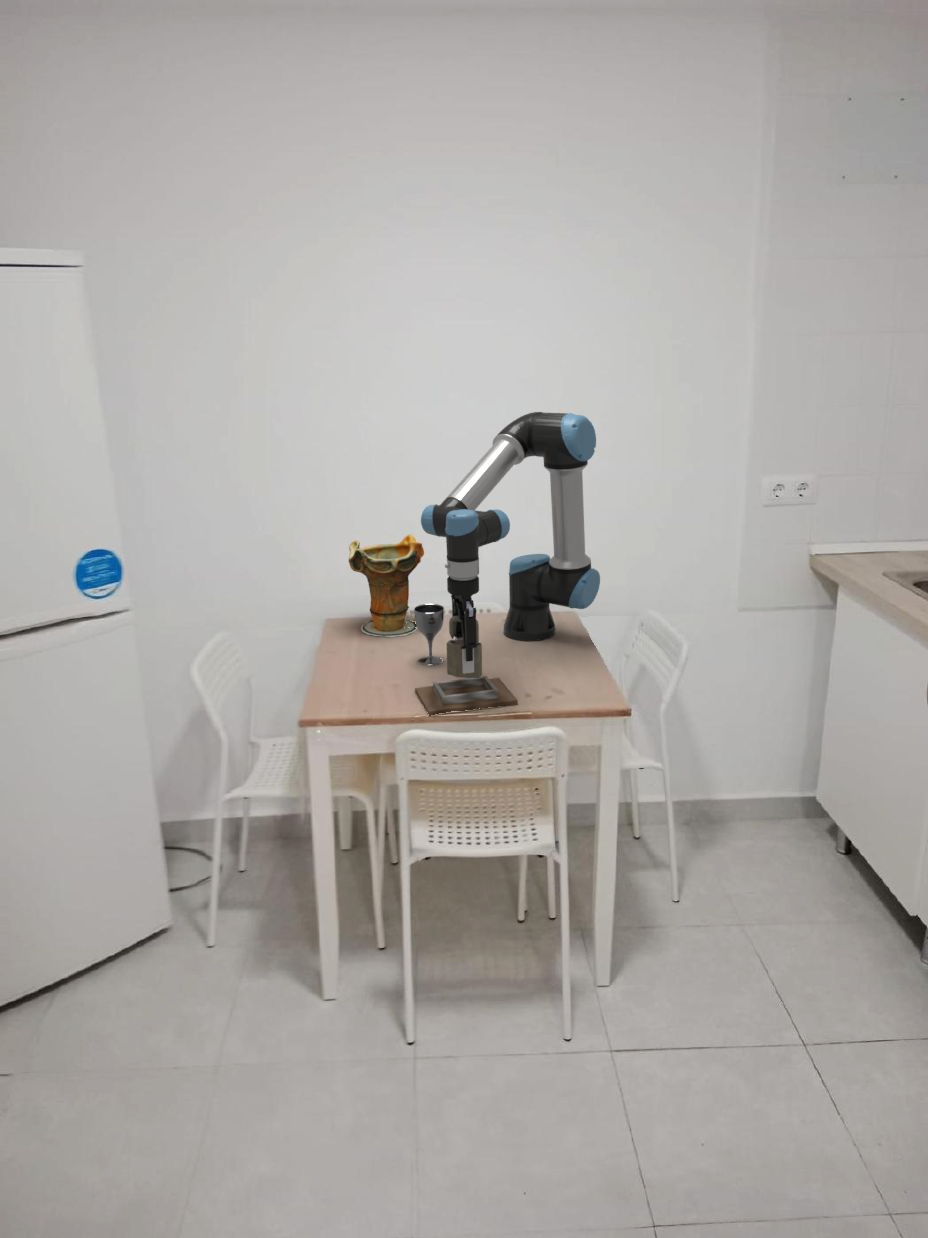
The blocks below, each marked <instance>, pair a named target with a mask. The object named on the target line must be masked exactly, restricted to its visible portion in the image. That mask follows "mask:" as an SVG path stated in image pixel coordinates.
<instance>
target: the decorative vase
mask: <svg viewBox="0 0 928 1238" xmlns="http://www.w3.org/2000/svg"><path fill="white" fill-rule="evenodd" d="M360 544H361V543H360V541H359V540H353V541H351V542H350V544H349V546H348V550H349V557H348V563H349V566H350V569H351V570H352V571H354V572H356V573H360V574H362V575H364V576H365V577H366V579H367V583H368V588H369V594H370V595H369V596H370V607H369V613H370V615H371V618H372V619H371V620H368V621H364V622H363V623H364V624H361V627H360V630H361V632H362V633H364V634H365V635H372V636H374V637H382V638H384V637H387V638H396V637H403V636H407V635H410V634H413V633H416V632H417V630H418V629H416V628H415V627H417V625H416V624H415V622H412V621H413V620H412V621H410V620H411V619H408V620H405V619H406V617H407V611H408V610H409V609H410V607H409V599H410V598H409V597H410V596H409V595H410V593H409V592H410V590H409V589H410V588H409V587H410V585H409V583H410V582H409V576H410V574H411V573H412V572H413V571H414V570H415V569H416V568H417V566H418V565H419V564H420V563H421V561H422V560H421V559H422V558H423V556H424V555H425V550H424V547H423V544H422V543H421V542H418V541H417V540H416V539H415V536H414V535H412V534H407V535H406V536H404V537H403V539H402V541H400V542H398V543H385V544H384V543H382V544H374V545H368V546H364V547H361V546H360ZM409 612H410V614H411V616H412V611H411V610H409ZM406 622H407V623H406ZM404 627H405V628H404ZM408 627H410V628H408Z"/></svg>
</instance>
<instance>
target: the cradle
mask: <svg viewBox="0 0 928 1238" xmlns="http://www.w3.org/2000/svg"><path fill="white" fill-rule="evenodd" d="M414 692H415V695H416V696H417V698H418V700H419V701H421V702H420V703H421V705H422V704H423V705H422V707H423V706H424V707H423V708H424V710H425V709H426V710H425V711H427V712H428V713H427V712H426V713H427V715H428V714H429V715H428V717H432V716H431V715H435V714H439V713H446V712H451V711H465V710H473V709H479V708H480V710H483V709H482V708H488V707H495V708H499V707H498V706H503V707H509V706H510V705H511V706H516V705H517V706H518V701H519V700H518V699H517V697H516V696H515V695H514V693H513V692H512V691H511V690H510V689H509V688H508V687H507V685H506V684H505V682H503V680H502V679H500V677H493V678H489V676H488V675H483V676H482V675H481V676H480V678H459V679H450V680H449V679H448V680H442V681H434V682H432V685H430V686H421V687H415V688H414ZM507 705H509V706H507ZM488 709H489V708H488ZM473 711H474V710H473ZM465 712H466V711H465ZM435 716H436V715H435Z"/></svg>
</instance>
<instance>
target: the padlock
mask: <svg viewBox="0 0 928 1238" xmlns="http://www.w3.org/2000/svg"><path fill="white" fill-rule="evenodd" d="M462 617H463V616H462ZM455 622H461V620H459V616H453V617H452V616H451V617H450V618H449V622H448V626H449V627H448V631H449V636H450V638H451V639H449V640H448V641H447V642H446V668H447V669H446V671H447V674H446V675H448V676H452V677H456V678H462V679H465V678H480V677H481V676H482V675H483V651H482V650H483V648H482V645H483V644H482V642H480V634H479V633H480V632H479V631H480V627H479V626H480V625H479V621H478V620H477V619H476V638H477V647H476V648H474V672H473V673H465V674H463V666H462V649H461V647H460V646H463V640H455V636H454V635H455Z"/></svg>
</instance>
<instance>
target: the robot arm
mask: <svg viewBox="0 0 928 1238" xmlns="http://www.w3.org/2000/svg"><path fill="white" fill-rule="evenodd" d="M596 447H597V436H596V430H595V428H594V425H593V423H592V421H590V420H589V418H588V417H586V416H584V415H581V414H575V413H570V412H569V413H568V412H567V413H564V412H561V413H560V412H543V411H542V412H541V411H534V412H528V413H527V414H524V415H521V416H520V417H518V418H516V419H515V420H513V421H511V422H510V423H509V424H507V425H506V426H504V428H503V429H502V430H500V431H499V433H497V434H496V436H495V437H494V438H493V440H492V445H491V447H490V448H489V449H488V451H486V453H485V454H484V455H482V457H481V458H480V459H479V460H478V461H477V463H476V464H475V465H474V466H473V468H472V469H471V470H470V471H469V472H468V473H467V474H466V475H465V476H464V477H463V479H462V480H461V481H460V482H459V483H458V484H457V485H456V486H455V487H454V489H453V490H452V491H450V493H449V494H448V495H447V497H446V498H445V499H444V500H443V501H442V502H441V504H439V505H438V504H429V505H427V506H425V508H424V509H423V511H422V513H421V516H420V525H421V528H422V529H423V531H424V532H425V533H426V534H428V535H432V536H436V537H438V538H440V537H442V538H445V539H446V541H445V543H446V562H447V563H445V564H444V568H445V569H446V572H447V573H446V575H447V576H448V577H447V578H446V580H447V581H446V583H447V584H446V585H447V586H446V587H447V593H448V594H449V595H450V596H451V612H452V613H451V618H452V617H453V616H459V620H461V622H455V635H454V640H463V646H460V647H461V649H462V666H463V674H465V673H473V672H474V648H476V647H477V638H476V620H477V611H478V610H477V607H475V605H474V604H475V603H474V600H472V596H473V595H476V594H477V593H479V591H480V577H479V574H480V558H479V548H480V547H484V546H485V545H489V544H492V543H497V542H499V541H500V540H503V539H504V538H506V536H507V535H508V534H509V533H510V529H511V522H510V518H509V516H508V515H507V514H506V513H505V512H504V511H502V510H501V509H497V508H496V509H489V510H487V511H482V510H477V508H478V507H479V506H480V504H482V503H483V501H484V500H485V499H486V498H487V497H488V495H490V493H491V492H492V491H493V489H495V487H496V486H497V485H498V484H499V483H500V482H501V480H502V479H503V478H504V477H505V476H506V475H507V474H508V472H510V470H511V469H512V468H513V466H516V465H520V464H521V463H522V462H524V460H525V459H526V458H530V457H537V458H543V467H544V469H546V470H547V471H548V472H549V477H550V497H551V498H550V500H551V503H550V504H551V521H552V538H553V539H552V540H553V541H552V543H553V556H552V557H550V555H548V554H547V553H532V554H525V555H524V554H523V555H520V556H517V557H515V558H513V559H512V560H511V561H510V562H509V569H508V570H509V572H508V575H509V576H508V577H509V580H508V582H509V608H508V610H507V614H506V617H505V620H504V624H503V634H504V636H506V637H507V638H510V639H513V640H516V641H517V640H518V641H525V642H526V641H527V642H528V641H529V642H532V641H533V642H534V641H536V642H537V641H543V640H546V639H549V638H552V637H554V636H555V634H556V623H555V621H554V617H553V614H552V611H551V609H550V608H551V607H550V605H557V606H561V607H566V608H569V609H578V610H579V609H580V610H584V609H587V608H588V607H590V606H591V605H592V603H594V601H595V599H596V597H597V596H598V592H599V590H600V585H601V575H600V572H599V571H598V570H597V569H596V568H592V560H591V559H592V558H591V557H590V556H588V555H587V554H586V539H585V537H586V536H585V514H584V513H585V512H584V511H585V509H584V482H583V480H584V479H583V470H584V469H585V468H586V467H587V466H588V464H589V463H588V461H589V460H590V459H591V458H592V457H593V456H594V454H595V449H596ZM462 616H463V617H462Z"/></svg>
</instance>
